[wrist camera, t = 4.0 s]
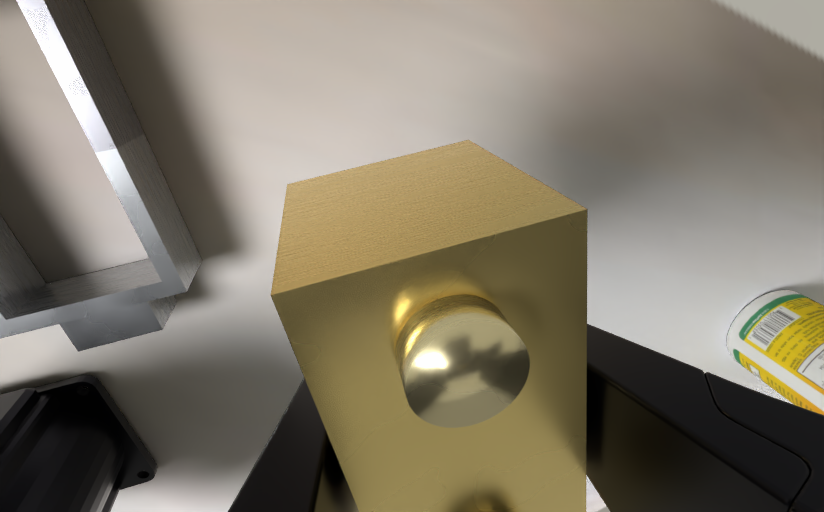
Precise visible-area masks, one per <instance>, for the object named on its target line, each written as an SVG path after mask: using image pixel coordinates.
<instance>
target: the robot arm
mask: <svg viewBox="0 0 824 512" xmlns="http://www.w3.org/2000/svg"><path fill="white" fill-rule="evenodd" d="M82 386H85V387H88V388H89V389H85V388H83V387H82ZM156 471H157V464H156V463H155V461H154V460H153V458H152V457H151V455H150V454H149V453H148V451H147V450H146V448H145V447H144V445H143V444H142V442H141V441H140V439H139V438H138V436H137V435H136V433H135V432H134V431H133V429H132V428H131V426H130V425H129V423H128V422H127V420H126V419H125V417H124V416H123V414H122V413H121V411H120V410H119V409H118V407H117V406H116V404H115V403H114V401H113V400H112V398H111V397H110V395H109V394H108V392H107V391H106V389H105V388H104V387H103V385H102V384H101V382H100V381H99V380H98V379H97V378H96V377H93V376H90V375H81V376H78V377H74V378H70V379H66V380H63V381H59V382H55V383H51V384H47V385H44V386H40V387H36V388H24V389H20V390H16V391H13V392H9V393H5V394H1V395H0V512H110V511H111V509H112V506H113V504H114V502H115V499H116V497H117V495H118V492H119V490H121V489H124V488H127V487H131V486H134V485H137V484H141V483H144V482H148V481H150V480H152V479H153V478H154V476H155V474H156ZM586 475H587V476H588V478H589V479H590V481H591V482H592V484H593V485H594V487H595V489H596V490H597V492H598V493H599V495H600V496H601V498H602V499H603V501H604V503H605V504H606V506H607V507H608V509H609V510H610V512H824V415H822V414H819V413H816V412H813V411H810V410H807V409H804V408H802V407H799V406H796V405H793V404H790V403H787V402H784V401H781V400H779V399H776V398H773V397H770V396H767V395H765V394H762V393H760V392H757V391H754V390H752V389H749V388H747V387H744V386H741V385H739V384H736V383H734V382H731V381H728V380H726V379H723V378H721V377H719V376H716V375H714V374H711V373H709V372H706V373H705V374H704V372H703V371H702V370H701V369H698V368H696V367H693V366H691V365H688V364H686V363H683V362H681V361H678V360H676V359H673V358H671V357H668V356H666V355H663V354H661V353H659V352H656V351H654V350H651V349H649V348H646V347H644V346H641V345H639V344H636V343H634V342H631V341H629V340H626V339H624V338H621V337H619V336H616V335H614V334H611V333H609V332H606V331H604V330H601V329H599V328H596V327H594V326H591V325H589V324H587V402H586ZM228 512H359V510H358V507H357V505H356V503H355V500H354V498H353V495H352V493H351V490H350V488H349V485H348V483H347V481H346V478H345V476H344V473H343V471H342V468H341V466H340V463H339V461H338V458H337V456H336V454H335V451H334V449H333V446H332V444H331V441H330V439H329V436H328V434H327V432H326V429H325V427H324V424H323V422H322V419H321V417H320V414H319V412H318V410H317V407H316V405H315V402H314V400H313V397H312V395H311V392H310V390H309V388H308V385H307V383H306V380H305V378H304V379H303V381H302V383H301V385H300V386H299V388H298V390H297V392H296V393H295V395H294V397H293V399H292V400H291V402H290V404H289V406H288V407H287V409H286V411H285V413H284V414H283V416H282V418H281V420H280V421H279V423H278V425H277V427H276V428H275V430H274V432H273V434H272V435H271V437H270V439H269V441H268V442H267V444H266V446H265V448H264V449H263V451H262V453H261V455H260V456H259V458H258V460H257V462H256V463H255V465H254V467H253V469H252V470H251V472H250V474H249V476H248V477H247V479H246V481H245V483H244V484H243V486H242V488H241V490H240V491H239V493H238V495H237V497H236V498H235V500H234V502H233V504H232V505H231V507H230V509H229V511H228Z"/></svg>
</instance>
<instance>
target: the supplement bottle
mask: <svg viewBox="0 0 824 512" xmlns="http://www.w3.org/2000/svg"><path fill="white" fill-rule="evenodd" d="M727 348H728V351H729V353H730V355H731V356H732V357H733V359H734V360H736V361H737V362H738V363H740V364H741V365H742V366H743V367H745V368H746V369H747V370H749V371H750V372H751V373H753V374H754V375H755V376H757V377H758V378H759V379H761V380H762V381H763V382H765V383H766V384H767V385H769V386H770V387H771V388H773V389H774V390H775V391H777V392H778V393H779V394H781V395H782V396H783V397H785V398H786V399H788V400H789V401H790V402H792V403H793V404H794V405H796V406H799V407H802V408H804V409H807V410H810V411H813V412H816V413H819V414H822V415H824V306H823V305H821V304H819V303H817V302H815V301H813V300H811V299H810V298H808V297H805V296H803V295H801V294H799V293H797V292H794V291H790V290H779V291H774V292H770V293H768V294H765V295H763V296H761V297H759V298H757V299H755V300H754V301H753V302H751V303H750V304H749V305H747V306H746V307H745V308H744V309H743V310H742V311H741V312H740V313H739V314H738V316H737V317H736V318H735V320H734V321H733V323H732V325H731V327H730V329H729V332H728V335H727Z"/></svg>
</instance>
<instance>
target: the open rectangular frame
mask: <svg viewBox="0 0 824 512" xmlns="http://www.w3.org/2000/svg"><path fill="white" fill-rule="evenodd" d="M16 1H17V2H18V4H19V6H20V8H21V10H22V12H23V14H24V16H25V18H26V20H27V22H28V24H29V26H30V28H31V30H32V32H33V33H34V35H35V37H36V39H37V41H38V43H39V45H40V47H41V49H42V51H43V53H44V55H45V57H46V59H47V61H48V62H49V64H50V66H51V68H52V70H53V72H54V74H55V76H56V78H57V80H58V82H59V84H60V86H61V88H62V90H63V91H64V93H65V95H66V97H67V99H68V101H69V103H70V105H71V107H72V109H73V111H74V113H75V115H76V117H77V119H78V120H79V122H80V124H81V126H82V128H83V130H84V132H85V134H86V136H87V138H88V140H89V142H90V144H91V146H92V148H93V150H94V151H95V153H96V155H97V157H98V159H99V161H100V163H101V165H102V167H103V169H104V171H105V173H106V175H107V177H108V179H109V180H110V182H111V184H112V186H113V188H114V190H115V192H116V194H117V196H118V198H119V200H120V202H121V204H122V206H123V208H124V209H125V211H126V213H127V215H128V217H129V219H130V221H131V223H132V225H133V227H134V229H135V231H136V233H137V235H138V237H139V239H140V240H141V242H142V244H143V246H144V248H145V250H146V252H147V254H148V256H149V258H150V259H146V260H142V261H138V262H134V263H130V264H126V265H121V266H117V267H113V268H109V269H105V270H101V271H96V272H92V273H88V274H84V275H80V276H76V277H71V278H67V279H63V280H59V281H55V282H51V283H45V281H44V280H43V278H42V277H41V275H40V274H39V272H38V271H37V269H36V268H35V266H34V265H33V263H32V262H31V260H30V259H29V257H28V256H27V254H26V253H25V251H24V250H23V248H22V247H21V245H20V244H19V242H18V241H17V239H16V238H15V236H14V235H13V233H12V232H11V230H10V229H9V227H8V226H7V224H6V223H5V221H4V220H3V218H2V217H1V215H0V338H4V337H8V336H12V335H16V334H20V333H24V332H28V331H32V330H36V329H40V328H44V327H48V326H52V325H56V324H60V325H61V327H62V328H63V330H64V331H65V333H66V334H67V336H68V337H69V339H70V340H71V342H72V343H73V344H74V346H75V347H76V349H77V350H78V351H82V350H85V349H89V348H93V347H97V346H101V345H105V344H109V343H113V342H116V341H120V340H124V339H128V338H132V337H136V336H140V335H143V334H147V333H151V332H155V331H159V330H163V328H164V326H165V324H166V322H167V320H168V318H169V316H170V314H171V312H172V310H173V308H174V306H175V305H176V303H177V301H176V299H175V297H174V295H176V294H180V293H184V292H187V290H188V288H189V286H190V284H191V282H192V280H193V278H194V276H195V274H196V272H197V270H198V268H199V266H200V264H201V262H202V259H201V257H200V255H199V253H198V251H197V248H196V246H195V244H194V242H193V240H192V237H191V235H190V233H189V231H188V229H187V226H186V224H185V222H184V220H183V218H182V215H181V213H180V211H179V209H178V207H177V204H176V202H175V200H174V198H173V196H172V193H171V191H170V189H169V187H168V185H167V182H166V180H165V178H164V176H163V174H162V171H161V169H160V167H159V165H158V163H157V160H156V158H155V156H154V154H153V152H152V149H151V147H150V145H149V143H148V141H147V138H146V136H145V134H144V132H143V129H142V127H141V125H140V123H139V121H138V118H137V116H136V114H135V112H134V110H133V107H132V105H131V103H130V101H129V99H128V96H127V94H126V92H125V90H124V88H123V85H122V83H121V81H120V79H119V77H118V74H117V72H116V70H115V68H114V66H113V63H112V61H111V59H110V57H109V55H108V52H107V50H106V48H105V46H104V44H103V41H102V39H101V37H100V35H99V33H98V30H97V28H96V26H95V24H94V22H93V19H92V17H91V15H90V13H89V11H88V8H87V6H86V4H85V2H84V0H16Z"/></svg>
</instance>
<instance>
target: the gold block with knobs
mask: <svg viewBox="0 0 824 512" xmlns="http://www.w3.org/2000/svg"><path fill="white" fill-rule="evenodd" d="M271 297H272V299H273V302H274V304H275V307H276V309H277V312H278V314H279V317H280V319H281V321H282V324H283V326H284V329H285V331H286V334H287V336H288V339H289V341H290V343H291V346H292V348H293V351H294V353H295V356H296V358H297V361H298V363H299V366H300V368H301V370H302V373H303V375H304V378H305V380H306V383H307V385H308V388H309V390H310V392H311V395H312V397H313V400H314V402H315V405H316V407H317V410H318V412H319V414H320V417H321V419H322V422H323V424H324V427H325V429H326V432H327V434H328V436H329V439H330V441H331V444H332V446H333V449H334V451H335V454H336V456H337V458H338V461H339V463H340V466H341V468H342V471H343V473H344V476H345V478H346V481H347V483H348V485H349V488H350V490H351V493H352V495H353V498H354V500H355V503H356V505H357V507H358V510H359V512H586V402H587V209H586V208H584V207H583V206H581V205H579V204H578V203H576V202H574V201H572V200H571V199H569V198H567V197H566V196H564V195H562V194H560V193H559V192H557V191H555V190H554V189H552V188H550V187H548V186H547V185H545V184H543V183H541V182H540V181H538V180H536V179H535V178H533V177H531V176H529V175H528V174H526V173H524V172H523V171H521V170H519V169H517V168H516V167H514V166H512V165H511V164H509V163H507V162H505V161H504V160H502V159H500V158H499V157H497V156H495V155H493V154H492V153H490V152H488V151H487V150H485V149H483V148H481V147H480V146H478V145H476V144H475V143H473V142H471V141H469V140H466V141H462V142H458V143H454V144H450V145H446V146H442V147H438V148H434V149H429V150H425V151H421V152H417V153H413V154H409V155H405V156H401V157H397V158H393V159H389V160H385V161H381V162H377V163H373V164H369V165H364V166H360V167H356V168H352V169H348V170H344V171H340V172H336V173H332V174H328V175H324V176H320V177H316V178H312V179H308V180H304V181H299V182H295V183H291V184H287V190H286V197H285V203H284V210H283V217H282V224H281V230H280V237H279V244H278V250H277V257H276V264H275V271H274V277H273V284H272V291H271Z"/></svg>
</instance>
